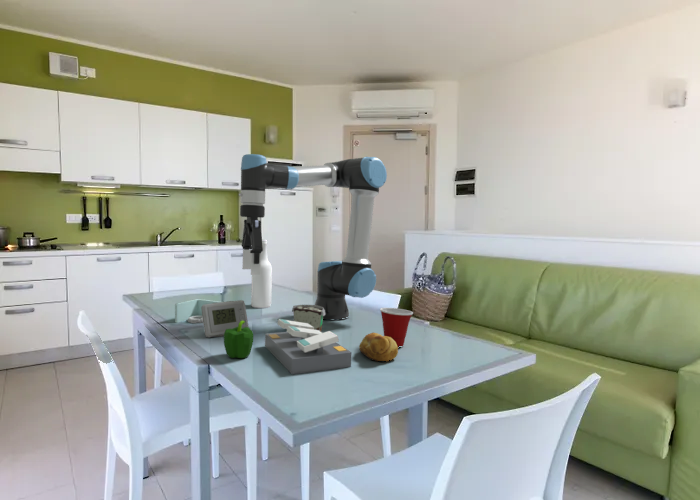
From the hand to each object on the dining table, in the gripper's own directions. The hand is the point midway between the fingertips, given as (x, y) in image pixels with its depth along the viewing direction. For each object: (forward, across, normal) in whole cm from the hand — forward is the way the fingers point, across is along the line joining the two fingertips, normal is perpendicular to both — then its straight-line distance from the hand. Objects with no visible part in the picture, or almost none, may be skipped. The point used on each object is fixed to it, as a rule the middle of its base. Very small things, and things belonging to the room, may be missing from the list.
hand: (250, 271), depth 138 cm
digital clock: (+23, -12, -6) cm, 27 cm away
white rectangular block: (+16, +28, +13) cm, 35 cm away
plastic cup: (+23, +18, +44) cm, 52 cm away
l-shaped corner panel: (+23, -32, -12) cm, 42 cm away
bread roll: (+23, +26, +33) cm, 48 cm away
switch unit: (+23, +19, +13) cm, 32 cm away
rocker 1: (+16, +10, +12) cm, 22 cm away
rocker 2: (+16, +19, +13) cm, 28 cm away
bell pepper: (+23, +14, -6) cm, 27 cm away
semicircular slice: (+23, -2, +22) cm, 32 cm away
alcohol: (+23, -53, +16) cm, 60 cm away
